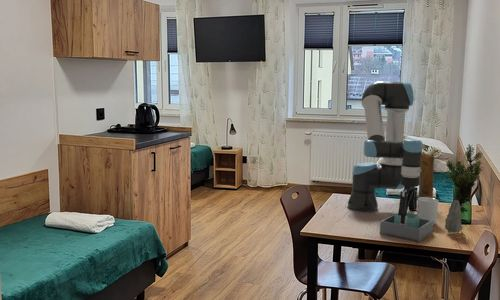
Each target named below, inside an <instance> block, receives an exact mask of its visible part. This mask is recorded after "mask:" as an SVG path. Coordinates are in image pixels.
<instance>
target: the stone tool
mask: <svg viewBox="0 0 500 300" xmlns="http://www.w3.org/2000/svg"><path fill="white" fill-rule="evenodd" d="M461 208H462V205H461V204H460V201H459V200H458V199H454V200H453V201H452V202H451V204H450V206H449V209H448V214H447V215H446V218H445V225H444V229H445V230H446V231H447V233H449V234H451V233H454V234H455V233H457V234H458V233H460V232H462V231H463V226H462V225H463V224H462V222H461V221H462V219H461V217H462V212H461V211H462V210H461Z"/></svg>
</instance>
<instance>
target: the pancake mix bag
mask: <svg viewBox="0 0 500 300" xmlns="http://www.w3.org/2000/svg"><path fill="white" fill-rule="evenodd" d="M434 164H435V157H434V155H431V154H427V153H422V154H421V166H420V169H421V172H420V176H418V177H419V178H420V180H419V186H418V195H417V199H418V198H420V197H429V198H434V167H435V166H434Z"/></svg>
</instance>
